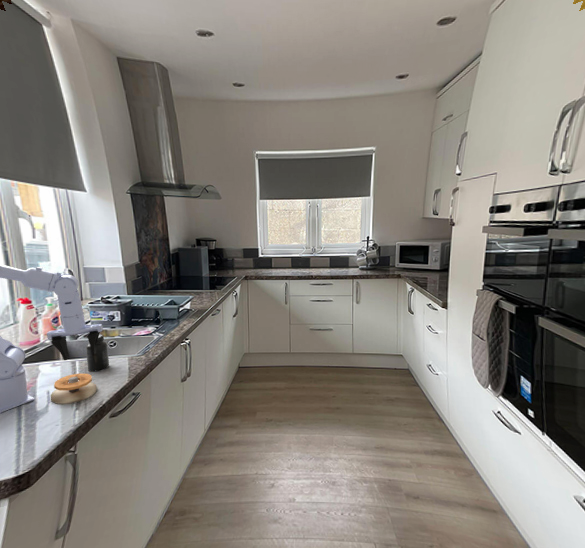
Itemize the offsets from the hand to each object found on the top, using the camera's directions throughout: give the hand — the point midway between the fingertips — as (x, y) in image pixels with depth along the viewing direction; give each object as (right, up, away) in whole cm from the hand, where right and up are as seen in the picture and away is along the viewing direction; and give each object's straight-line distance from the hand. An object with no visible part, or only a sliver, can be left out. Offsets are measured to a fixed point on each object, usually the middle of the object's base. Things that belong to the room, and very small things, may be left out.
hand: (80, 356), depth 107 cm
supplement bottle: (-5, -9, +18) cm, 21 cm away
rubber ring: (-2, -8, -1) cm, 8 cm away
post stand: (-2, -11, 0) cm, 11 cm away
